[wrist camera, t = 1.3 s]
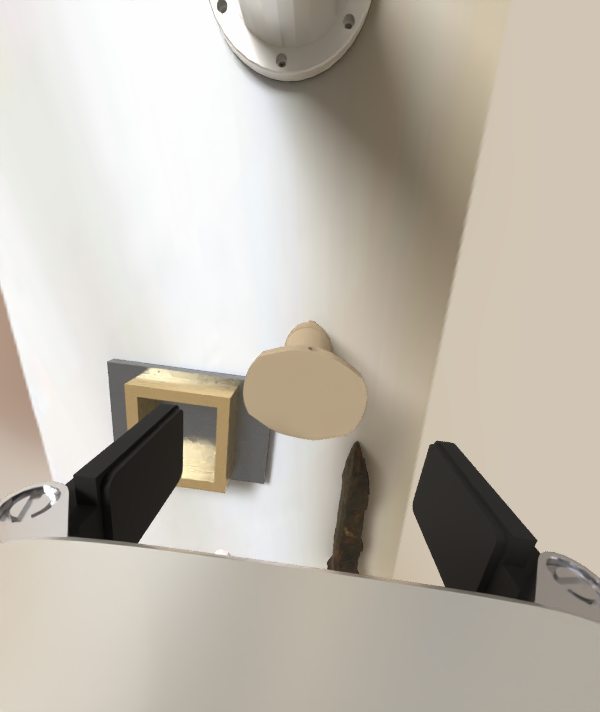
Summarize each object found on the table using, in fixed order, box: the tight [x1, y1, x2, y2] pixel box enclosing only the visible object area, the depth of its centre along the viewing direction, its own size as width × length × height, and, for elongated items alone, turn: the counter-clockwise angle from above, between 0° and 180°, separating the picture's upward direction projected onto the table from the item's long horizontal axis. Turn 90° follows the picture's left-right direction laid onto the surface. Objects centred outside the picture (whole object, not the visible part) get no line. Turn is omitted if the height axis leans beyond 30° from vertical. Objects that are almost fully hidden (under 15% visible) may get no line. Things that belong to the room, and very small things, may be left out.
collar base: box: [107, 359, 270, 493], centre depth 30 cm, size 13×18×4 cm
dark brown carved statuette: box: [327, 441, 369, 574], centre depth 33 cm, size 19×4×5 cm, turn 175°
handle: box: [243, 321, 367, 440], centre depth 21 cm, size 5×6×15 cm
